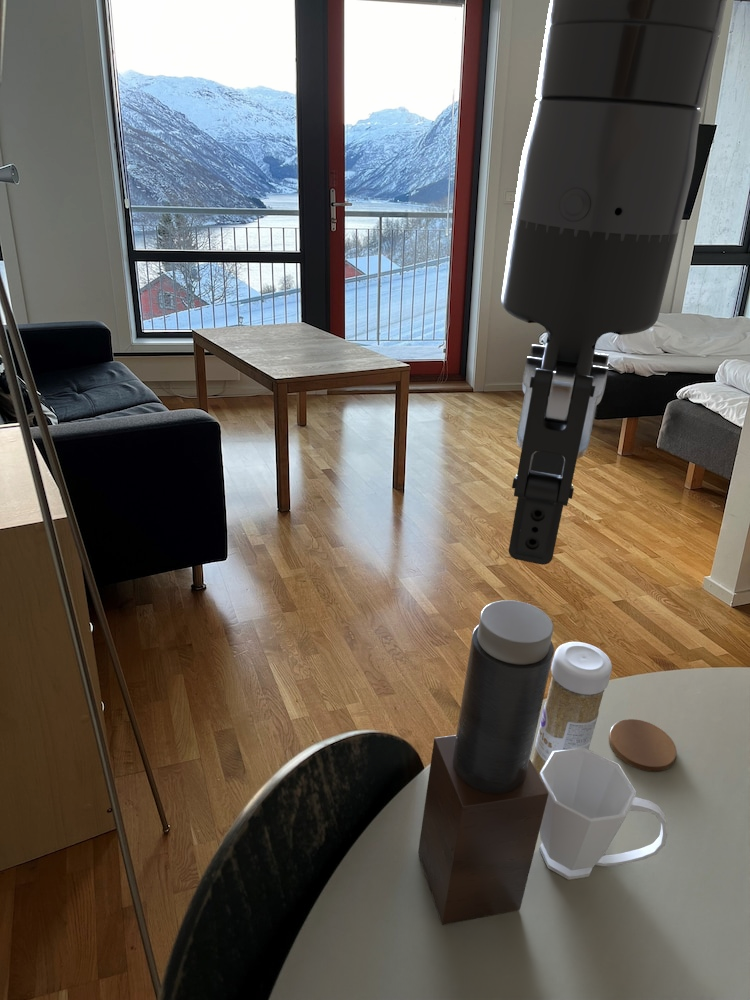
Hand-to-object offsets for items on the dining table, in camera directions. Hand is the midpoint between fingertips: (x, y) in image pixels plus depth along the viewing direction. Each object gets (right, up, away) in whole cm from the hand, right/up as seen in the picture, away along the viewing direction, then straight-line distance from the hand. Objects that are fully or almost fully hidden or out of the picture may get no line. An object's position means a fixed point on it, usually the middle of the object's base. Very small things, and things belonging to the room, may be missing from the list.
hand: (537, 521), depth 41 cm
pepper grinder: (-1, -17, +9) cm, 19 cm away
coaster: (+16, -22, +28) cm, 39 cm away
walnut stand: (-2, -27, +14) cm, 31 cm away
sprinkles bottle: (+7, -24, +23) cm, 34 cm away
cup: (+7, -27, +16) cm, 33 cm away
